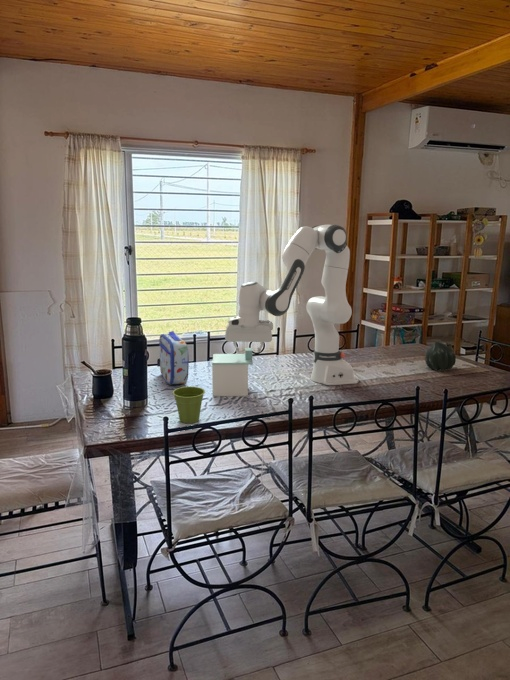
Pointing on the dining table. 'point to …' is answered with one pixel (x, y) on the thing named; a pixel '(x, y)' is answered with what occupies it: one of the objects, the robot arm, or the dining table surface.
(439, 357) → the squash
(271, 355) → the dining table surface
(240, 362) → the lid
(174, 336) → the lunch box
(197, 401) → the plant pot
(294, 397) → the dining table surface
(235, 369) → the tub
